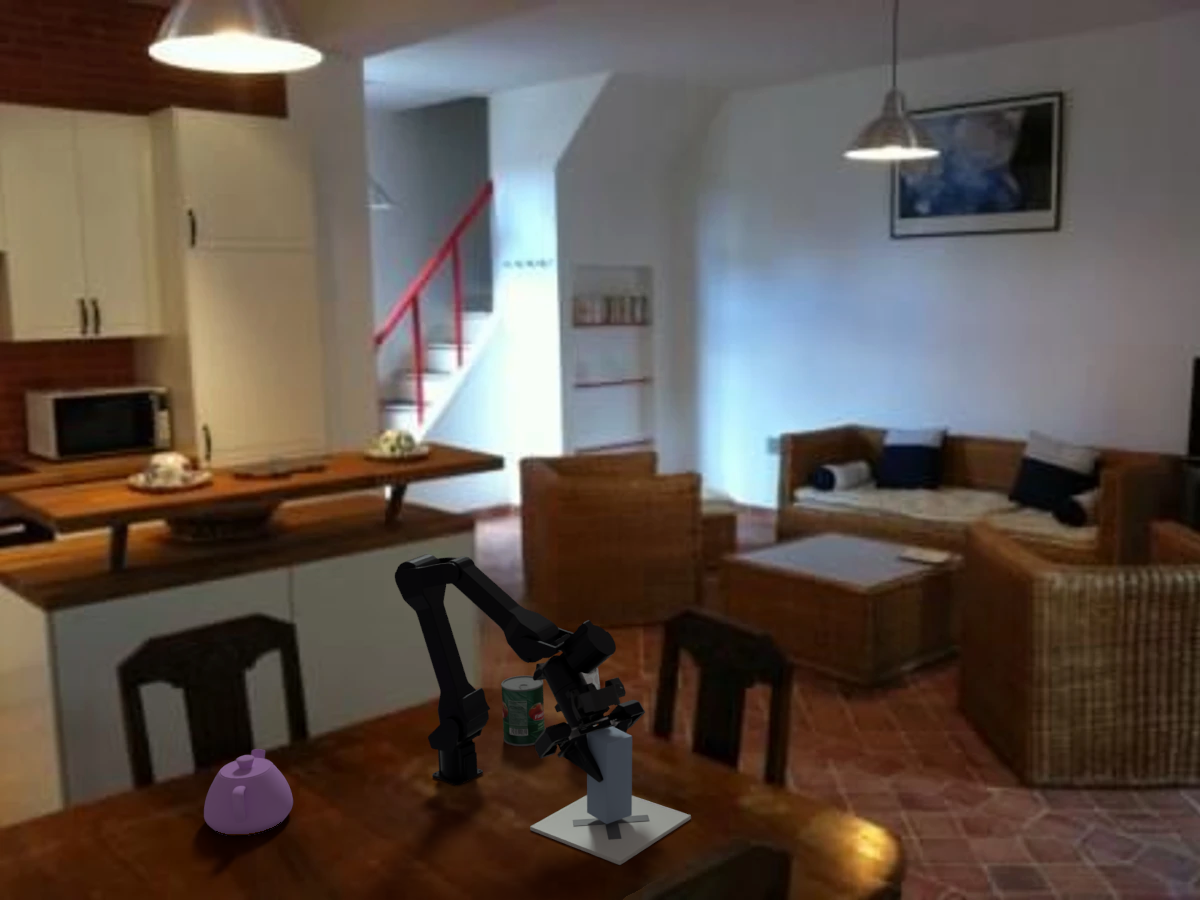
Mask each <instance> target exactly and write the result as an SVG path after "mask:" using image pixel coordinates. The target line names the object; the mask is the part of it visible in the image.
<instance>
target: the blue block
mask: <svg viewBox="0 0 1200 900" xmlns="http://www.w3.org/2000/svg"><path fill="white" fill-rule="evenodd" d="M587 742H588V748H589V750H590V752H591V753H592V755H593V757H594V759H595V761H596V763H597V765H598V767H599V769H600V771H601V774H602V776H603V781H602V782H600V783H599V782H597V781H596V780H595V779H594V778H592V777H591V776H590V775H588V774H587V773H586V787H587V788H586V795H587V813H589V814H590V815H592V816H594V817H595V818H597V819H599V820H600V821H602V822H604V823H605V824H608V823H611V822H614V821H617V820H620V819H622V818H625V817H628V816H631V815H632V796H633V735H631V734H629V733H625V732H623V731H621V730H619V729H617V728H615V727H613V726H612V727H608V728H605V729H602V730H598V731H595V732H591V733H588V734H587Z"/></svg>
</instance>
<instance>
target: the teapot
mask: <svg viewBox="0 0 1200 900" xmlns="http://www.w3.org/2000/svg"><path fill="white" fill-rule="evenodd" d="M293 805H294V798H293V794H292V789H291V788H290V785H289V783H288V781H287V779H286V777H285V776H284V775H283V773H282V772H281V771H280V770H279V768H277V766H276V765H275V764H274V763H273V762H272V761H271V760H270V759H267V758H266V750H265V749H260V748H255V749H251V752H250V754H244V755H241V756H239V757H237V758H235V760H234V761H231V762H229V763H227V764H225V765H224V766H223V767H221V768H220V770H219V771H218V772H217V773H216V775H215V777H214V779H213V781H212V783H211V785H210V786H209V789H208V792H207V793H206V797H205V801H204V808H203V818H204V821H205V822H206V824H207V826H209V827H210V828H211V829H212V830H214V831H215V832H216V831H218V832H221V833H225V834H249V833H255V832H260V831H264V830H266V829H269V828H272V827H274V826H276V825H277V824H279V823H280V822H281V823H282V822H283V821H284V820H285V819H287V817H288V815H289V814H290V812H291V811H292V808H293ZM281 823H280V824H281ZM280 824H279V825H280ZM277 826H278V825H277ZM277 826H276V827H277ZM274 828H275V827H274ZM272 829H273V828H272ZM218 832H217V833H218Z"/></svg>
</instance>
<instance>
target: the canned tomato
mask: <svg viewBox="0 0 1200 900" xmlns="http://www.w3.org/2000/svg"><path fill="white" fill-rule="evenodd" d="M500 686H501V707H502V709H501V710H502V731H503V741H504V743H506V744H507V745H509V746H513V747H514V746H515V747H529V746H535V741H536V739H537V738H538V737H539V736H540V735H541V733H542V732H543V731H544V730H545V729H546V727H545V703H544V700H545V699H544V680H535V681H534V680H533V675H515V676H510V677H508V678H505V679H504V680H503V681H502V682H501V684H500Z"/></svg>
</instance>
